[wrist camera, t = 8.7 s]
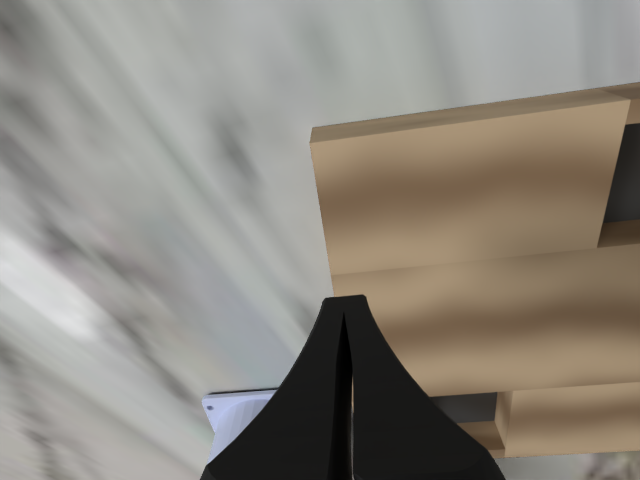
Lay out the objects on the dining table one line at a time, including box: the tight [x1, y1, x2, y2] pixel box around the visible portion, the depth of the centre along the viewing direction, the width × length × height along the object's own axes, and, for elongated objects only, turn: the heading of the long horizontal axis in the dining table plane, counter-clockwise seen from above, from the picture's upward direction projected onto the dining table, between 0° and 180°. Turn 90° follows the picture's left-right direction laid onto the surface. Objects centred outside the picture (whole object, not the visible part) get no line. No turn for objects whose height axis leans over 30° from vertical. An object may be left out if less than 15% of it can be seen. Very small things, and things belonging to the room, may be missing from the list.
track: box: [310, 82, 640, 458], centre depth 22 cm, size 24×30×4 cm
